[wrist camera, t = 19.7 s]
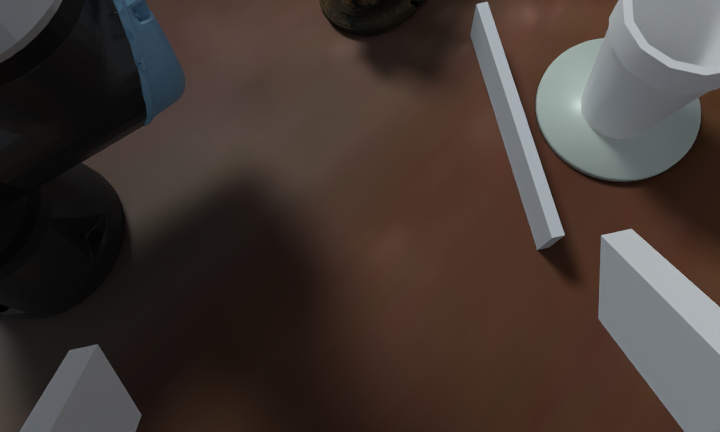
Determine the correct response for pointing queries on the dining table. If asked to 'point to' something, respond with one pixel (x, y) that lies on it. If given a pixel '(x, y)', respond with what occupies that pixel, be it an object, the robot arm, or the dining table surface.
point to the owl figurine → (368, 14)
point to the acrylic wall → (515, 130)
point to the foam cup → (652, 64)
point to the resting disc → (590, 148)
